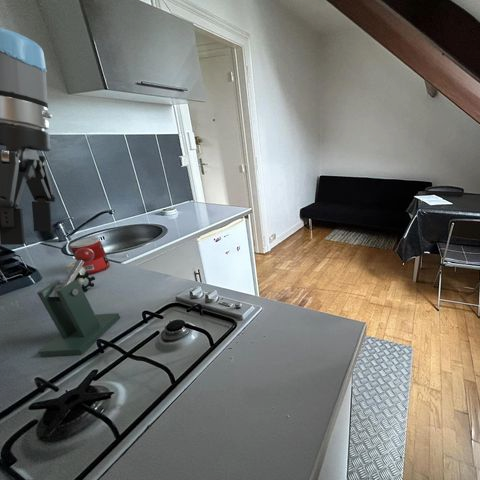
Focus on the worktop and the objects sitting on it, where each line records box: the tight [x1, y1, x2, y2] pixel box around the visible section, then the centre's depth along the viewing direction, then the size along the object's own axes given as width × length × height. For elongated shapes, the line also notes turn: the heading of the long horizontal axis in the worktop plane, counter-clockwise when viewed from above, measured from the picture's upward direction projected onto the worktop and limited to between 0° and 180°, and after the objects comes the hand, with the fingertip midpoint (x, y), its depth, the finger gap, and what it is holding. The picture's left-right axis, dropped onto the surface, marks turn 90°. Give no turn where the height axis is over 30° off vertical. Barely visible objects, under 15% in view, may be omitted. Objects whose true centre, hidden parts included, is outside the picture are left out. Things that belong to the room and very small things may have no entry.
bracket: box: [36, 280, 121, 358], centre depth 59 cm, size 12×9×14 cm
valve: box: [65, 260, 96, 293], centre depth 83 cm, size 7×7×12 cm
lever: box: [49, 248, 94, 301], centre depth 60 cm, size 13×4×4 cm
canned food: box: [69, 236, 111, 275], centre depth 92 cm, size 8×8×11 cm
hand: (29, 237), depth 53 cm, fingers open, 13 cm apart
